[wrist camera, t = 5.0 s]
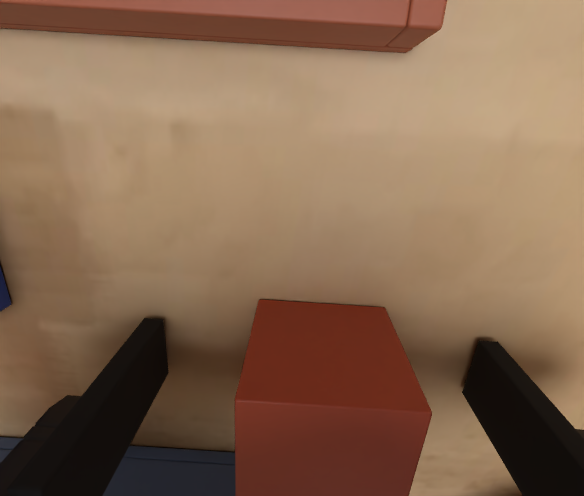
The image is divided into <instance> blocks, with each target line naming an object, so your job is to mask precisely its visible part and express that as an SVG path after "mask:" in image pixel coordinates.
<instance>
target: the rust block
mask: <svg viewBox="0 0 584 496" xmlns="http://www.w3.org/2000/svg"><path fill="white" fill-rule="evenodd" d="M431 416H432V411H431V409H430V407H429V405H428V402H427V400H426V398H425V396H424V393H423V391H422V389H421V387H420V385H419V382H418V380H417V378H416V376H415V373H414V371H413V369H412V367H411V365H410V362H409V360H408V358H407V356H406V353H405V351H404V349H403V347H402V345H401V342H400V340H399V338H398V336H397V333H396V331H395V329H394V327H393V325H392V322H391V320H390V318H389V316H388V314H387V311H386V309H385V308H384V307H369V306H353V305H338V304H323V303H307V302H292V301H276V300H261V299H260V300H259V301H258V305H257V309H256V313H255V317H254V322H253V326H252V330H251V334H250V338H249V342H248V347H247V351H246V355H245V359H244V363H243V367H242V371H241V376H240V380H239V384H238V388H237V392H236V396H235V496H409V492H410V489H411V485H412V482H413V478H414V475H415V471H416V468H417V465H418V461H419V458H420V454H421V451H422V447H423V444H424V440H425V437H426V433H427V430H428V426H429V423H430V420H431Z"/></svg>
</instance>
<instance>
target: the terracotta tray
mask: <svg viewBox="0 0 584 496" xmlns="http://www.w3.org/2000/svg"><path fill="white" fill-rule="evenodd" d="M446 3H447V0H0V28H11V29H28V30H44V31H60V32H77V33H93V34H109V35H126V36H142V37H158V38H175V39H191V40H207V41H224V42H240V43H256V44H272V45H289V46H305V47H321V48H338V49H354V50H370V51H387V52H403V53H406V52H408V51H410V50H411V49H412V48H413V47H415V46H416V45H418V44H419V43H421V42H422V41H424V40H425V39H427V38H428V37H430V36H431V35H433V34H434V33H436V32H437V31H439V30H440V29H441V27H442V24H443V19H444V14H445V9H446Z"/></svg>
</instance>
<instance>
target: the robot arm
mask: <svg viewBox="0 0 584 496" xmlns="http://www.w3.org/2000/svg"><path fill="white" fill-rule="evenodd" d="M168 373H169V372H168V362H167V352H166V343H165V333H164V323H163V319H149V318H144V320H143V321H142V322H141V323H140V324H139V326H138V327H137V328H136V329H135V331H134V332H133V333H132V334H131V336H130V337H129V338H128V339H127V341H126V342H125V343H124V344H123V346H122V347H121V348H120V349H119V350H118V352H117V353H116V354H115V355H114V357H113V358H112V359H111V360H110V362H109V363H108V364H107V365H106V367H105V368H104V369H103V370H102V372H101V373H100V374H99V375H98V377H97V378H96V379H95V380H94V381H93V383H92V384H91V385H90V386H89V388H88V389H87V390H86V391H85V393H84V394H83V395H82V396H70V395H67V396H66V397H64V398H63V399H61V400H60V401H59V402H57V403H56V404H54V405H53V406H51V407H50V408H49V409H48V410H47V411H46V412H45V413H44V415H43V416H42V417H41V418H40V419H39V420H38V421H37V422H36V425H35V426H34V427H32V428H31V429H30V430H29V431H28V433H27V434H26V435H25V436H24V439H23V440H21V441H20V442H19V443H18V444H17V445H16V446H15V447H14V448H13V450H12V451H11V452H10V453H9V454H8V455H7V456H6V457H5V459H4V460H3V461H2V462H1V463H0V496H103V494H104V492H105V490H106V488H107V486H108V485H109V483H110V481H111V479H112V477H113V475H114V473H115V471H116V470H117V468H118V466H119V464H120V462H121V460H122V458H123V457H124V455H125V453H126V451H127V449H128V447H129V445H130V444H131V442H132V440H133V438H134V436H135V434H136V432H137V430H138V429H139V427H140V425H141V423H142V421H143V419H144V417H145V416H146V414H147V412H148V410H149V408H150V406H151V404H152V402H153V401H154V399H155V397H156V395H157V393H158V391H159V389H160V388H161V386H162V384H163V382H164V380H165V378H166V376H167V374H168ZM462 393H463V395H464V396H465V398H466V400H467V402H468V403H469V405H470V407H471V408H472V410H473V412H474V413H475V415H476V417H477V419H478V420H479V422H480V424H481V425H482V427H483V429H484V430H485V432H486V434H487V435H488V437H489V439H490V441H491V442H492V444H493V446H494V447H495V449H496V451H497V452H498V454H499V456H500V458H501V459H502V461H503V463H504V464H505V466H506V468H507V469H508V471H509V473H510V475H511V476H512V478H513V480H514V481H515V483H516V485H517V486H518V488H519V490H520V491H521V493H522V495H523V496H584V430H578V429H575V428H574V427H573V426H572V425H571V424H570V423H569V421H568V420H567V419H566V418H565V417H564V416H563V415H562V413H561V412H560V411H559V410H558V409H557V408H556V407H555V406H554V404H553V403H552V402H551V401H550V400H549V399H548V398H547V397H546V395H545V394H544V393H543V392H542V391H541V390H540V389H539V388H538V386H537V385H536V384H535V383H534V382H533V381H532V380H531V379H530V377H529V376H528V375H527V374H526V373H525V372H524V371H523V370H522V368H521V367H520V366H519V365H518V364H517V363H516V362H515V361H514V359H513V358H512V357H511V356H510V355H509V354H508V353H507V352H506V350H505V349H504V348H503V347H502V346H501V345H500V344H499V343H498V342H493V341H479V342H478V345H477V348H476V351H475V354H474V357H473V360H472V364H471V367H470V370H469V373H468V376H467V379H466V382H465V385H464V388H463V391H462Z"/></svg>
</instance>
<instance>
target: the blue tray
mask: <svg viewBox="0 0 584 496" xmlns="http://www.w3.org/2000/svg"><path fill="white" fill-rule="evenodd" d="M23 439H24V438H9V437H0V463H1V462H2V461H3V460H4V459H5V457H6V456H7V455H8V454H9V453H10V452H11V451H12V450H13V448H14V447H15V446H16V445H17V444H18V443H19V442H20V441H21V440H23ZM103 496H235V453H233V452H218V451H203V450H188V449H173V448H158V447H143V446H129V447H128V449H127V451H126V453H125V455H124V457H123V458H122V460H121V462H120V464H119V466H118V468H117V470H116V471H115V473H114V475H113V477H112V479H111V481H110V483H109V485H108V486H107V488H106V490H105V492H104V494H103Z"/></svg>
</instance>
